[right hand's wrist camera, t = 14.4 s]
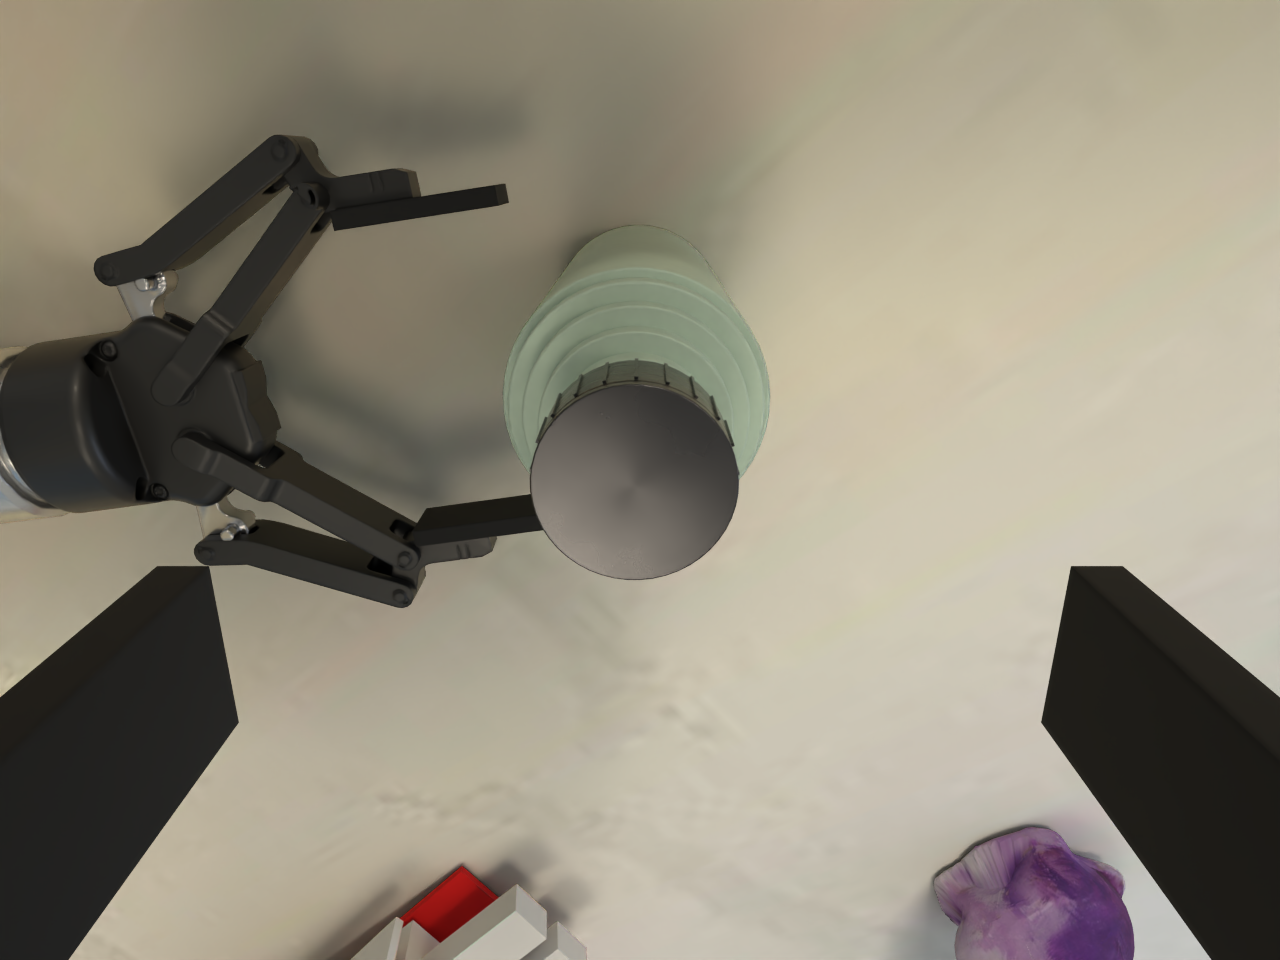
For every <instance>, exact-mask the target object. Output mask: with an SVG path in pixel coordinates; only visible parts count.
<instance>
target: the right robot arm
mask: <svg viewBox="0 0 1280 960" xmlns="http://www.w3.org/2000/svg"><path fill="white" fill-rule="evenodd" d="M238 723H239V721H238V716H237V711H236V706H235V700H234V695H233V690H232V685H231V679H230V674H229V669H228V664H227V658H226V653H225V648H224V643H223V638H222V632H221V627H220V622H219V617H218V611H217V606H216V601H215V596H214V591H213V585H212V580H211V575H210V570H209V566H157V567H156V568H155V569H153V570H152V571H151V572H150V573H149V574H147V575H146V576H145V577H144V578H143V579H141V580H140V581H139V582H138V583H137V584H135V585H134V586H133V587H132V588H131V589H129V590H128V591H127V592H126V593H125V594H123V595H122V596H121V597H120V598H119V599H117V600H116V601H115V602H114V603H113V604H112V605H110V606H109V607H108V608H107V609H106V610H104V611H103V612H102V613H101V614H100V615H98V616H97V617H96V618H95V619H94V620H92V621H91V622H90V623H89V624H88V625H86V626H85V627H84V628H83V629H82V630H80V631H79V632H78V633H77V634H76V635H74V636H73V637H72V638H71V639H70V640H68V641H67V642H66V643H65V644H64V645H62V646H61V647H60V648H59V649H58V650H56V651H55V652H54V653H53V654H52V655H50V656H49V657H48V658H47V659H46V660H44V661H43V662H42V663H41V664H40V665H38V666H37V667H36V668H35V669H34V670H32V671H31V672H30V673H29V674H28V675H26V676H25V677H24V678H23V679H22V680H20V681H19V682H18V683H17V684H16V685H14V686H13V687H12V688H11V689H10V690H8V691H7V692H6V693H5V694H4V695H2V696H1V697H0V960H69V958H70V957H71V955H72V954H73V953H74V951H75V950H76V948H77V947H78V946H79V944H80V943H81V942H82V940H83V939H84V937H85V936H86V935H87V933H88V932H89V930H90V929H91V928H92V926H93V925H94V923H95V922H96V921H97V919H98V918H99V916H100V915H101V914H102V912H103V911H104V909H105V908H106V907H107V905H108V904H109V902H110V901H111V900H112V898H113V897H114V896H115V894H116V893H117V891H118V890H119V889H120V887H121V886H122V884H123V883H124V882H125V880H126V879H127V877H128V876H129V875H130V873H131V872H132V870H133V869H134V868H135V866H136V865H137V863H138V862H139V861H140V859H141V858H142V857H143V855H144V854H145V852H146V851H147V850H148V848H149V847H150V845H151V844H152V843H153V841H154V840H155V838H156V837H157V836H158V834H159V833H160V831H161V830H162V829H163V827H164V826H165V824H166V823H167V822H168V820H169V819H170V818H171V816H172V815H173V813H174V812H175V811H176V809H177V808H178V806H179V805H180V804H181V802H182V801H183V799H184V798H185V797H186V795H187V794H188V792H189V791H190V790H191V788H192V787H193V785H194V784H195V783H196V781H197V780H198V778H199V777H200V776H201V774H202V773H203V772H204V770H205V769H206V767H207V766H208V765H209V763H210V762H211V760H212V759H213V758H214V756H215V755H216V753H217V752H218V751H219V749H220V748H221V746H222V745H223V744H224V742H225V741H226V739H227V738H228V737H229V735H230V734H231V733H232V731H233V730H234V728H235V727H236V726H237V724H238ZM1041 723H1042V724H1043V726H1044V727H1045V728H1046V730H1047V731H1048V733H1049V734H1050V735H1051V737H1052V738H1053V740H1054V741H1055V742H1056V744H1057V745H1058V746H1059V748H1060V749H1061V751H1062V752H1063V753H1064V755H1065V756H1066V758H1067V759H1068V760H1069V762H1070V763H1071V765H1072V766H1073V767H1074V769H1075V770H1076V772H1077V773H1078V774H1079V776H1080V777H1081V779H1082V780H1083V781H1084V783H1085V784H1086V785H1087V787H1088V788H1089V790H1090V791H1091V792H1092V794H1093V795H1094V797H1095V798H1096V799H1097V801H1098V802H1099V804H1100V805H1101V806H1102V808H1103V809H1104V811H1105V812H1106V813H1107V815H1108V816H1109V818H1110V819H1111V820H1112V822H1113V823H1114V824H1115V826H1116V827H1117V829H1118V830H1119V831H1120V833H1121V834H1122V836H1123V837H1124V838H1125V840H1126V841H1127V843H1128V844H1129V845H1130V847H1131V848H1132V850H1133V851H1134V852H1135V854H1136V855H1137V857H1138V858H1139V859H1140V861H1141V862H1142V864H1143V865H1144V866H1145V868H1146V869H1147V870H1148V872H1149V873H1150V875H1151V876H1152V877H1153V879H1154V880H1155V882H1156V883H1157V884H1158V886H1159V887H1160V889H1161V890H1162V891H1163V893H1164V894H1165V896H1166V897H1167V898H1168V900H1169V901H1170V903H1171V904H1172V905H1173V907H1174V908H1175V909H1176V911H1177V912H1178V914H1179V915H1180V916H1181V918H1182V919H1183V921H1184V922H1185V923H1186V925H1187V926H1188V928H1189V929H1190V930H1191V932H1192V933H1193V935H1194V936H1195V937H1196V939H1197V940H1198V942H1199V943H1200V944H1201V946H1202V947H1203V948H1204V950H1205V951H1206V953H1207V954H1208V955H1209V957H1210V958H1211V960H1280V697H1279V696H1278V695H1276V694H1275V693H1274V692H1273V691H1272V690H1270V689H1269V688H1268V687H1267V686H1266V685H1264V684H1263V683H1262V682H1261V681H1260V680H1258V679H1257V678H1256V677H1255V676H1254V675H1252V674H1251V673H1250V672H1249V671H1248V670H1246V669H1245V668H1244V667H1243V666H1242V665H1240V664H1239V663H1238V662H1237V661H1236V660H1234V659H1233V658H1232V657H1231V656H1230V655H1228V654H1227V653H1226V652H1225V651H1224V650H1222V649H1221V648H1220V647H1219V646H1218V645H1216V644H1215V643H1214V642H1213V641H1212V640H1210V639H1209V638H1208V637H1207V636H1206V635H1204V634H1203V633H1202V632H1201V631H1200V630H1198V629H1197V628H1196V627H1195V626H1194V625H1192V624H1191V623H1190V622H1189V621H1188V620H1186V619H1185V618H1184V617H1183V616H1182V615H1180V614H1179V613H1178V612H1177V611H1176V610H1174V609H1173V608H1172V607H1171V606H1170V605H1168V604H1167V603H1166V602H1165V601H1164V600H1162V599H1161V598H1160V597H1159V596H1158V595H1156V594H1155V593H1154V592H1153V591H1152V590H1151V589H1149V588H1148V587H1147V586H1146V585H1145V584H1143V583H1142V582H1141V581H1140V580H1139V579H1137V578H1136V577H1135V576H1134V575H1133V574H1131V573H1130V572H1129V571H1128V570H1127V569H1125V568H1124V567H1123V566H1071V570H1070V575H1069V580H1068V585H1067V590H1066V596H1065V601H1064V606H1063V611H1062V617H1061V622H1060V627H1059V632H1058V638H1057V643H1056V648H1055V653H1054V658H1053V664H1052V669H1051V674H1050V679H1049V685H1048V690H1047V695H1046V700H1045V705H1044V711H1043V716H1042V721H1041Z"/></svg>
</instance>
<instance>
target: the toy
mask: <svg viewBox="0 0 1280 960" xmlns="http://www.w3.org/2000/svg"><path fill="white" fill-rule="evenodd" d="M351 960H587V949H586V947H585V946H584V945H583V944H582V943H581V942H580V941H579V940H578V939H577V938H576V937H574V936H573V935H572V934H571V933H570V932H569V931H568V930H567V929H566V928H565V927H564V926H562V925H561V924H560V923H559V922H558V921H557V922H555V923H554V924H553V925H551V926H550V927H549V928H548V929H547V911H546V910H545V909H544V908H543V907H542V906H541V905H540V904H538V903H537V902H536V901H535V900H534V899H533V898H532V897H531V896H530V895H529V894H528V893H526V892H525V891H524V890H523V889H522V888H521V887H520V886H519V885H518V884H516V885H514V886H513V887H512V888H511V889H509V890H508V891H507V892H505V893H504V894H503V895H502V896H500V897H498V896H496V895H495V894H494V893H493V892H492V891H491V890H489V889H488V888H487V887H486V886H485V885H484V884H482V883H481V882H480V881H479V880H478V879H477V878H475V877H474V876H473V875H472V874H471V873H470V872H468V871H467V870H466V869H465V868H464V867H463V866H461V867H460V868H459V869H458V870H456V871H455V872H454V873H453V874H452V875H450V876H449V877H448V878H447V879H446V880H445V881H443V882H442V883H441V884H440V885H439V886H437V887H436V888H435V889H434V890H433V891H432V892H430V893H429V894H428V895H427V896H426V897H424V898H423V899H422V900H421V901H420V902H419V903H417V904H416V905H415V906H414V907H413V908H411V909H410V910H409V911H408V912H407V913H406V914H404V915H403V916H402V917H401V918H398V917H395V918H394V919H393V920H392V921H391V922H390V923H389V924H388V925H387V926H386V927H385V928H384V929H383V930H382V931H381V932H379V933H378V934H377V935H376V936H375V937H374V938H373V939H372V940H371V941H370V942H369V943H368V944H367V945H366V946H364V947H363V948H362V949H361V950H360V951H359V952H358V953H357V954H356V955H355V956H354V957H353V958H352V959H351Z"/></svg>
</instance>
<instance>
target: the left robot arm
mask: <svg viewBox="0 0 1280 960" xmlns="http://www.w3.org/2000/svg"><path fill="white" fill-rule="evenodd" d="M288 186H290V189H291V190H292V191H293V193H292V195H291V196H290V197H289V199H288V200H287V202H286V203H285V205H284V206H283V207H282V209H281V210H280V212H279V213H278V215H277V216H276V217H275V219H274V220H273V222H272V223H271V224H270V226H269V227H268V229H267V230H266V232H265V233H264V234H263V236H262V237H261V239H260V240H259V241H258V243H257V244H256V246H255V247H254V249H253V250H252V251H251V253H250V254H249V256H248V257H247V258H246V260H245V261H244V263H243V264H242V266H241V267H240V268H239V270H238V271H237V273H236V274H235V275H234V277H233V278H232V280H231V281H230V283H229V284H228V285H227V287H226V288H225V290H224V291H223V293H222V294H221V295H220V297H219V298H218V300H217V301H216V302H215V304H214V305H213V307H212V308H211V309H210V310H209V311H207V312H206V313H205V314H204V315H203V316H202V317H201V318H200V319H199V320H198V322H197V323H196V324H194V323H192V322H190V321H188V320H186V319H184V318H182V317H180V316H178V315H175V314H172V313H168V312H166V311H165V308H164V300H165V298H166V296H167V295H168V294H170V293H171V292H173V291H174V290H175V288H176V287H177V282H178V279H179V278H178V274H177V273H176V272H175V271H176V270H178V269H181V268H184V267H186V266H188V265H190V264H192V263H193V262H195V261H196V260H198V259H199V258H200V257H202V256H203V255H204V254H205V253H207V252H208V251H209V250H210V249H212V248H213V247H214V246H215V245H217V244H218V243H219V242H220V241H221V240H223V239H224V238H225V237H226V236H228V235H229V234H230V233H231V232H232V231H234V230H235V229H236V228H237V227H239V226H240V225H241V224H242V223H244V222H245V221H246V220H247V219H248V218H250V217H251V216H252V215H253V214H255V213H256V212H257V211H258V210H259V209H261V208H262V207H263V206H264V205H266V204H267V203H268V202H269V201H270V200H272V199H273V198H274V197H275V196H277V195H278V194H279V193H280V192H282V191H283V190H284V189H285V188H286V187H288ZM506 203H509V200H508V195H507V190H506V185H505V184H499V185H493V186H486V187H480V188H473V189H467V190H460V191H454V192H447V193H441V194H435V195H428V196H422V197H421V193H420V188H419V183H418V179H417V174H416V172H415V171H411V170H407V169H403V168H400V169H388V170H381V171H375V172H369V173H362V174H356V175H350V176H343V177H338V176H335V175H333V174H332V173H330V172H329V171H328V170H327V168H326V167H325V166H324V164H323V163H322V161H321V159H320V158H319V156H318V149H317V147H316V145H315V143H314V142H313V141H312V140H311V139H309V138H306V137H302V136H289V135H273V136H271V137H269V138H268V139H267V140H266V141H265V142H263V143H262V144H261V145H260V146H259V147H257V148H256V149H255V150H254V151H253V152H251V153H250V154H249V155H248V156H247V157H245V158H244V159H243V160H242V161H241V162H239V163H238V164H237V165H236V166H235V167H233V168H232V169H231V170H230V171H229V172H227V173H226V174H225V175H224V176H223V177H221V178H220V179H219V180H218V181H217V182H215V183H214V184H213V185H212V186H211V187H209V188H208V189H207V190H206V191H205V192H204V193H202V194H201V195H200V196H199V197H198V198H196V199H195V200H194V201H193V202H192V203H190V204H189V205H188V206H187V207H186V208H184V209H183V210H182V211H181V212H180V213H178V214H177V215H176V216H175V217H174V218H172V219H171V220H170V221H169V222H168V223H166V224H165V225H164V226H163V227H162V228H160V229H159V230H158V231H157V232H156V233H154V234H153V235H152V236H151V237H150V238H148V239H147V240H146V241H145V242H144V243H142V244H141V245H139V246H135V247H132V248H128V249H125V250H121V251H118V252H114V253H111V254H107V255H104V256H101V257H99V258H98V259H97V260H96V262H95V263H94V272H95V275H96V277H97V278H98V280H99V281H100V282H102V283H103V284H105V285H108V286H117V288H118V291H119V293H120V295H121V297H122V299H123V301H124V303H125V306H126V308H127V310H128V312H129V314H130V316H131V318H132V321H133V322H131V323H130V324H129V325H128V326H127V327H126V328H125V329H123V330H121V331H115V332H109V333H102V334H95V335H89V336H82V337H75V338H69V339H62V340H55V341H48V342H42V343H37V344H35V345H32V346H30V347H23V346H15V347H8V348H2V349H0V524H3V523H11V522H19V521H27V520H34V519H42V518H50V517H58V516H63V515H66V514H68V513H70V512H72V513H85V512H92V511H99V510H107V509H114V508H121V507H129V506H136V505H143V504H151V503H157V502H162V501H169V500H176V501H182V502H186V503H189V504H192V505H195V506H197V511H198V515H199V520H200V524H201V529H202V533H203V540H201V541H200V542H199V543H198V544H197V545H196V546H195V548H194V555H195V557H196V559H197V560H198V561H199V562H200V563H202V564H204V565H209V566H216V565H250V566H254V567H257V568H261V569H264V570H268V571H271V572H275V573H278V574H282V575H285V576H289V577H292V578H296V579H299V580H303V581H306V582H310V583H313V584H317V585H320V586H324V587H328V588H331V589H335V590H338V591H342V592H345V593H349V594H352V595H356V596H359V597H363V598H366V599H370V600H373V601H377V602H380V603H384V604H387V605H391V606H394V607H398V608H404V607H408V606H409V605H410V604H411V603H412V601H413V599H414V598H415V596H416V594H417V592H418V590H419V588H420V586H421V585H422V583H423V580H424V578H425V576H426V571H425V566H426V565H428V564H431V563H438V562H446V561H453V560H460V559H468V558H476V557H482V556H484V555H486V554H488V553H490V552H492V550H493V548H494V545H495V542H496V540H497V536H502V535H510V534H517V533H525V532H532V531H540V530H543V528H542V527H541V525H540V522H539V520H538V518H537V516H536V513H535V510H534V507H533V504H532V498H531V494H529V495H522V496H514V497H507V498H500V499H492V500H485V501H478V502H470V503H463V504H455V505H448V506H441V507H433V508H426V510H425V512H424V513H423V515H422V516H421V518H420V520H419V521H418V523H416V522H414V521H412V520H410V519H408V518H406V517H405V516H403V515H401V514H399V513H397V512H395V511H394V510H392V509H390V508H388V507H386V506H385V505H383V504H381V503H379V502H377V501H375V500H374V499H372V498H370V497H368V496H366V495H364V494H363V493H361V492H359V491H357V490H355V489H353V488H352V487H350V486H348V485H346V484H344V483H342V482H341V481H339V480H337V479H335V478H333V477H331V476H330V475H328V474H326V473H324V472H322V471H320V470H319V469H317V468H315V467H313V466H311V465H309V464H308V463H306V462H305V461H304V460H303V458H302V456H301V455H300V454H299V453H298V452H296V451H294V450H292V449H291V448H289V447H287V446H285V445H283V444H281V443H280V442H278V441H276V437H277V430H279V429H280V428H281V425H280V422H279V419H278V415H277V412H276V410H275V408H274V407H273V405H272V403H271V402H270V400H269V398H268V397H267V391H266V375H265V372H264V369H263V365H262V362H261V360H260V361H255V359H254V358H253V356H252V355H251V354H250V353H249V352H248V351H247V350H246V349H244V348H243V347H244V346H245V345H246V343H247V342H248V340H249V339H250V338H251V336H252V335H253V334H254V332H255V331H256V329H257V328H258V327H259V325H260V324H261V322H262V317H263V315H264V314H265V313H266V311H267V310H268V308H269V307H270V306H271V304H272V303H273V302H274V300H275V299H276V297H277V296H278V295H279V293H280V292H281V291H282V289H283V288H284V286H285V285H286V284H287V282H288V281H289V280H290V278H291V277H292V275H293V274H294V273H295V271H296V270H297V269H298V267H299V266H300V264H301V263H302V262H303V260H304V259H305V258H306V256H307V255H308V253H309V252H310V251H311V249H312V248H313V247H314V245H315V244H316V243H317V241H318V240H319V238H320V237H321V236H322V234H323V233H324V232H325V230H326V229H327V227H328V226H329V225H330V223H331V222H332V224H333V227H334V231H337V230H343V229H350V228H356V227H363V226H369V225H376V224H382V223H389V222H395V221H402V220H408V219H415V218H421V217H428V216H434V215H441V214H447V213H454V212H460V211H467V210H473V209H480V208H486V207H493V206H499V205H502V204H506ZM258 464H260V465H262V466H264V467H266V468H262V467H259V466H257V465H258ZM234 489H237V490H239V491H241V492H242V493H244V494H246V495H248V496H250V497H252V498H254V499H256V500H258V501H262V502H274V503H276V504H278V505H280V506H281V507H283V508H285V509H287V510H289V511H291V512H293V513H295V514H296V515H298V516H300V517H302V518H304V519H306V520H308V521H310V522H312V523H313V524H315V525H317V526H319V527H321V528H323V529H325V530H327V531H328V532H330V533H332V534H334V535H336V536H338V537H340V538H342V539H343V540H345V541H343V540H339V539H336V538H333V537H329V536H326V535H322V534H319V533H315V532H312V531H309V530H305V529H302V528H298V527H295V526H291V525H288V524H285V523H280V522H276V521H270V520H258V519H255V513H254V512H252V511H250V510H246V511H245V510H240V509H237V508H235V507H233V506H232V505H231V504H230V502H229V501H228V498H227V495H229V494H230V493H231V492H232V491H233V490H234ZM346 541H347V542H346Z"/></svg>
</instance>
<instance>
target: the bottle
mask: <svg viewBox="0 0 1280 960" xmlns="http://www.w3.org/2000/svg"><path fill="white" fill-rule="evenodd" d="M635 358H638V360H643V361H650V362H656V363H660V364H663V365H664V363H667V364H668V366H669V367H672V368H674V369H677V370H679V371H681V372H682V373H684V374H686V375H687V376H689V377H690V376H693V377H694V380H695V381H696V382H697V383H698V384H699V385H700V386H701V387H702V388H703V389H704V390H705V391H706V392H707V393H708V394H709V395H710V396H712V395H713V397H714V399H715V402H716V405H717V407H718V409H719V411H720V413H721V415H722V417H723V420H727V423H728V426H729V429H730V433H731V436H732V439H733V442H734V445H735V446H734V447H733V451H734V454H735V457H736V462H737V466H738V469H739V472H740V475H739V479H740V478H741V477H742V476H743V474H744V473H745V471H746V470H747V468H748V467H749V465H750V464H751V462H752V461H753V459H754V457H755V455H756V453H757V451H758V449H759V447H760V445H761V442H762V439H763V436H764V433H765V430H766V426H767V421H768V416H769V406H770V388H769V377H768V373H767V368H766V363H765V360H764V357H763V354H762V352H761V349H760V346H759V344H758V342H757V340H756V338H755V336H754V335H753V333H752V331H751V329H750V328H749V326H748V325H747V323H746V321H745V320H744V318H743V317H742V315H741V314H740V312H739V311H738V309H737V308H736V306H735V305H734V303H733V302H732V300H731V298H730V297H729V295H728V294H727V292H726V291H725V289H724V288H723V286H722V285H721V283H720V282H719V280H718V279H717V277H716V275H715V274H714V272H713V271H712V269H711V268H710V266H709V265H708V263H707V262H706V260H705V259H704V258H703V256H702V255H701V254H700V253H699V252H698V251H697V250H696V248H695V247H693V246H692V245H691V244H690V243H689V242H687V241H686V240H685V239H683V238H681V237H680V236H678V235H677V234H674V233H672V232H670V231H668V230H665V229H661V228H658V227H653V226H646V225H631V226H624V227H620V228H616V229H612V230H610V231H607V232H605V233H603V234H601V235H599V236H597V237H596V238H594V239H592V240H591V241H590V242H589V243H587V244H586V245H585V246H584V247H583V248H582V249H581V250H580V251H579V252H578V253H577V254H576V255H575V257H574V258H573V259H572V261H571V262H570V263H569V265H568V266H567V268H566V269H565V270H564V272H563V273H562V274H561V276H560V277H559V279H558V280H557V281H556V283H555V284H554V286H553V287H552V288H551V290H550V291H549V292H548V294H547V295H546V297H545V298H544V299H543V301H542V302H541V303H540V305H539V306H538V308H537V309H536V310H535V312H534V313H533V315H532V316H531V317H530V319H529V320H528V321H527V323H526V324H525V326H524V327H523V328H522V330H521V332H520V334H519V336H518V338H517V339H516V341H515V343H514V345H513V348H512V351H511V353H510V356H509V359H508V362H507V367H506V371H505V375H504V385H503V410H504V416H505V421H506V427H507V430H508V433H509V436H510V439H511V442H512V445H513V447H514V449H515V451H516V453H517V455H518V457H519V459H520V461H521V462H522V464H523V465H524V467H525V468H526V470H527V471H528V473H529V474H530V466H531V464H532V460H533V456H534V452H535V450H536V447H537V444H538V443H535V442H536V439H537V437H538V434H539V431H540V429H541V426H542V423H543V421H544V418H545V417H548V415H549V413H550V411H551V409H552V407H553V406H554V404H555V401H556V399H557V396H558V394H559V393H561V394H562V393H563V392H564V391H565V390H566V389H567V388H568V387H569V386H570V385H571V384H572V383H573V382H574V381H576V380H577V379H578V377H579V375H580V374H582V375H584V374H586V373H588V372H589V371H591V370H593V369H596V368H598V367H601V366H603V365H605V363H606V362H609V364H610V363H614V362H619V361H627V360H635Z"/></svg>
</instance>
